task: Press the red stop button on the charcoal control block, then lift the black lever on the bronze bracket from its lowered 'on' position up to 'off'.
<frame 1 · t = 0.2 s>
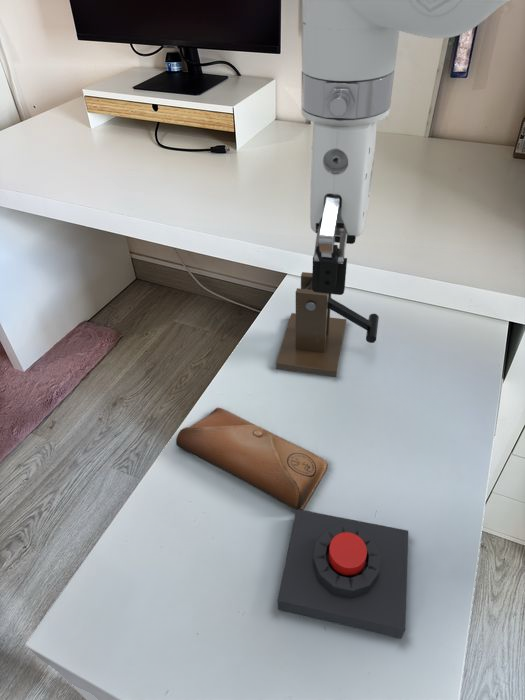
hand: (334, 265, 54), 23 cm above the table, tool pointing down, fingers open, 9 cm apart
stop block: (344, 573, 52), on the table
sunglasses case: (252, 458, 64), on the table
bracket: (312, 345, 78), on the table
stop button: (347, 553, 49), point 4 cm above the table, slide at 0.1 cm
lever: (341, 309, 72), point 8 cm above the table, hinge at -30.0°
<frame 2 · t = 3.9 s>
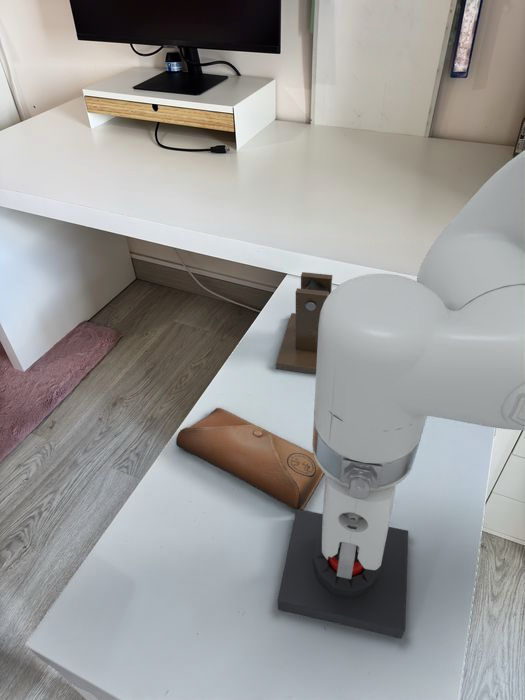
hand: (345, 551, 49), 5 cm above the table, tool pointing down, fingers closed
stop button: (347, 555, 50), point 4 cm above the table, slide at -0.4 cm, touching gripper
everything else where it was.
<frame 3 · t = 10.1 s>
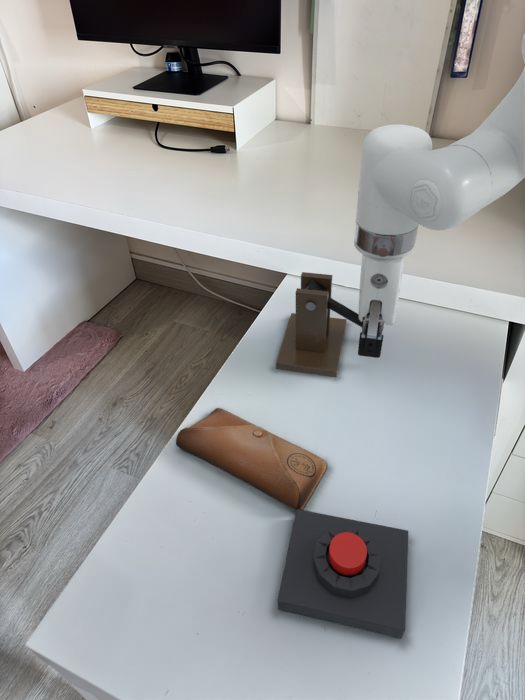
hand: (370, 341, 75), 2 cm above the table, tool pointing down, fingers closed on lever, 5 cm apart
stop button: (347, 553, 49), point 4 cm above the table, slide at 0.1 cm
lever: (341, 309, 72), point 8 cm above the table, hinge at -30.0°, touching gripper
everything else where it was.
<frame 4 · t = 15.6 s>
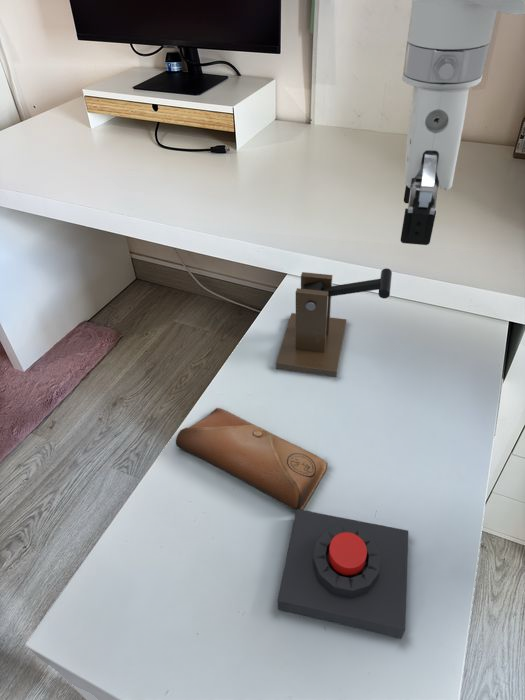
hand: (415, 221, 61), 22 cm above the table, tool pointing down, fingers open, 9 cm apart
lever: (346, 289, 70), point 11 cm above the table, hinge at 17.5°
everything else where it was.
at the end: stop button pushed in 1.1 cm at the most during the clip, back to where it started at the end; stop button slide at 0.1 cm; lever at +18° (first picture: -30°) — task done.
